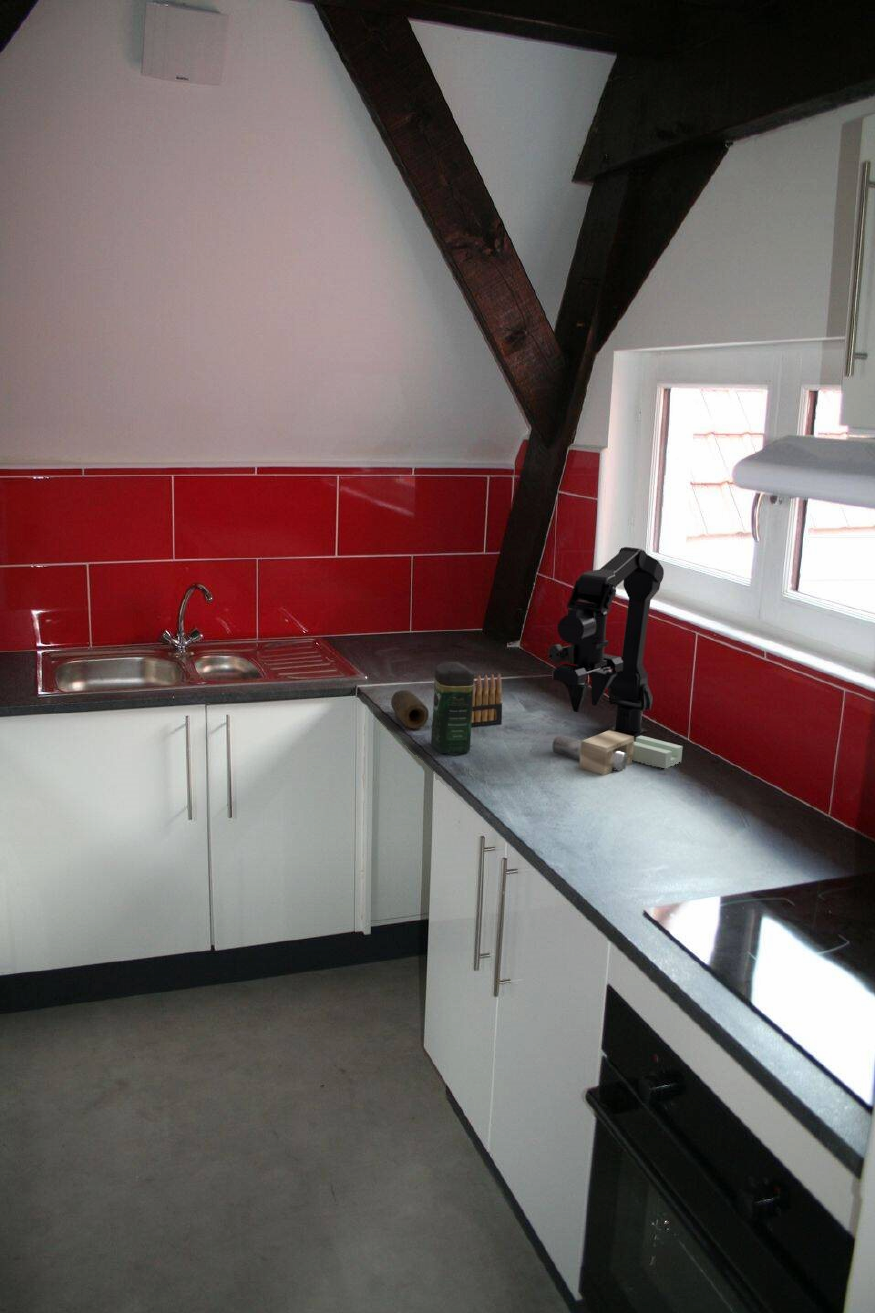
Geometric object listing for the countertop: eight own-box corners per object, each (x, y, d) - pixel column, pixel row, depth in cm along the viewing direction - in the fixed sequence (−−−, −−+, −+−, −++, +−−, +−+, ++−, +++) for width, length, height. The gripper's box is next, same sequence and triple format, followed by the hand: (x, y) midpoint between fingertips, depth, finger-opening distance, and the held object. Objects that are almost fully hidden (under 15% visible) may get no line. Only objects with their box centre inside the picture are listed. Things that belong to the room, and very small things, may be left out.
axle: (551, 755, 235) (553, 737, 234) (562, 750, 238) (563, 733, 237) (616, 773, 225) (618, 755, 224) (626, 769, 228) (628, 750, 227)
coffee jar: (474, 755, 231) (479, 669, 227) (437, 756, 229) (441, 670, 225) (463, 741, 240) (467, 658, 236) (427, 742, 239) (431, 658, 234)
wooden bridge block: (607, 756, 235) (609, 730, 233) (631, 763, 231) (634, 736, 230) (579, 767, 227) (581, 741, 225) (604, 775, 223) (606, 748, 221)
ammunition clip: (497, 722, 255) (500, 672, 253) (501, 724, 254) (504, 674, 251) (457, 726, 251) (459, 675, 248) (461, 729, 249) (463, 677, 246)
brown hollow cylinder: (433, 731, 247) (435, 702, 245) (403, 732, 245) (405, 703, 243) (414, 712, 261) (415, 684, 259) (385, 713, 258) (386, 685, 257)
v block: (639, 750, 239) (640, 735, 239) (681, 762, 233) (682, 746, 232) (622, 757, 234) (624, 742, 233) (665, 769, 228) (666, 753, 227)
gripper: (582, 623, 238) (576, 692, 242) (533, 634, 224) (527, 708, 228) (627, 631, 231) (621, 703, 235) (579, 644, 217) (573, 720, 221)
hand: (585, 708), depth 230 cm, fingers open, 7 cm apart
